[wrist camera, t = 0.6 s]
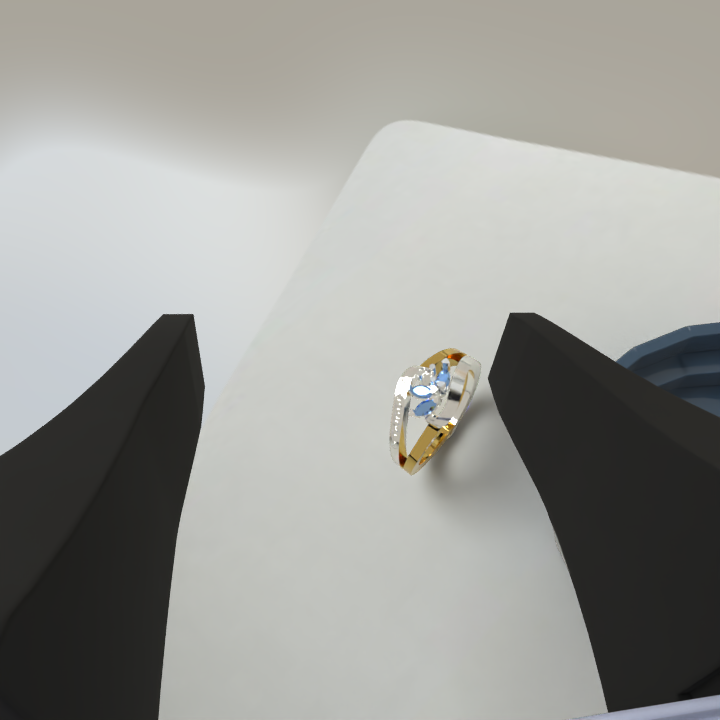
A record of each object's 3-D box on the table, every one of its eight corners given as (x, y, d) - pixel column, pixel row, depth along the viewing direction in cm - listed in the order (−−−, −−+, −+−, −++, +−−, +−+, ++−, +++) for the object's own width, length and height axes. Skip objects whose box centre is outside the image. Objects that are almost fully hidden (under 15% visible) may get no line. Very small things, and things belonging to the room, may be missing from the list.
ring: (459, 371, 29) (441, 313, 22) (503, 399, 28) (499, 347, 21) (392, 460, 29) (351, 429, 22) (434, 493, 27) (406, 472, 20)
